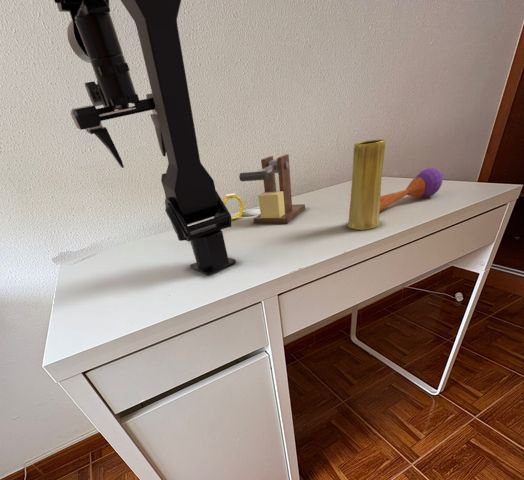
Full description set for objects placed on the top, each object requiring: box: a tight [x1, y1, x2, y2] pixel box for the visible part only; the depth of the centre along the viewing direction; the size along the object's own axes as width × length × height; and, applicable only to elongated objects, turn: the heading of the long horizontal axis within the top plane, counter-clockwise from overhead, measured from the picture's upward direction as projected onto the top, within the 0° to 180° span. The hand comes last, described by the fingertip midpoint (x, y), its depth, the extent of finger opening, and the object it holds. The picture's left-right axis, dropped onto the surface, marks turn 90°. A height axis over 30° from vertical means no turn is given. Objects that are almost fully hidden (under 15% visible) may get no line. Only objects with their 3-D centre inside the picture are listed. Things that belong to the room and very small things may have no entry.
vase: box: [347, 138, 386, 231], centre depth 56 cm, size 6×6×14 cm
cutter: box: [253, 154, 306, 225], centre depth 70 cm, size 12×9×13 cm
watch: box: [222, 193, 245, 221], centre depth 77 cm, size 6×3×6 cm, turn 125°
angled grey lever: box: [238, 158, 278, 182], centre depth 64 cm, size 13×6×2 cm, turn 153°
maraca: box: [379, 167, 444, 212], centre depth 67 cm, size 6×6×20 cm
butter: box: [257, 190, 285, 218], centre depth 69 cm, size 3×5×5 cm, turn 63°
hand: (143, 161), depth 62 cm, fingers open, 9 cm apart
